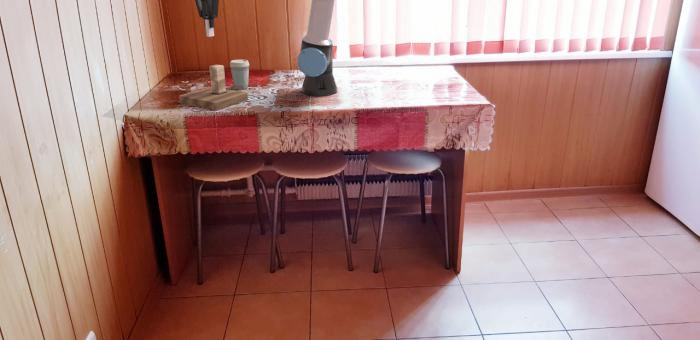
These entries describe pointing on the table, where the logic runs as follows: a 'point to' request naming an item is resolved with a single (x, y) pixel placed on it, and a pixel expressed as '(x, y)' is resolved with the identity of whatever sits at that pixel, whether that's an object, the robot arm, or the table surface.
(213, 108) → the board
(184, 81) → the table surface
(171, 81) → the table surface
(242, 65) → the coffee cup
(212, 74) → the peg
